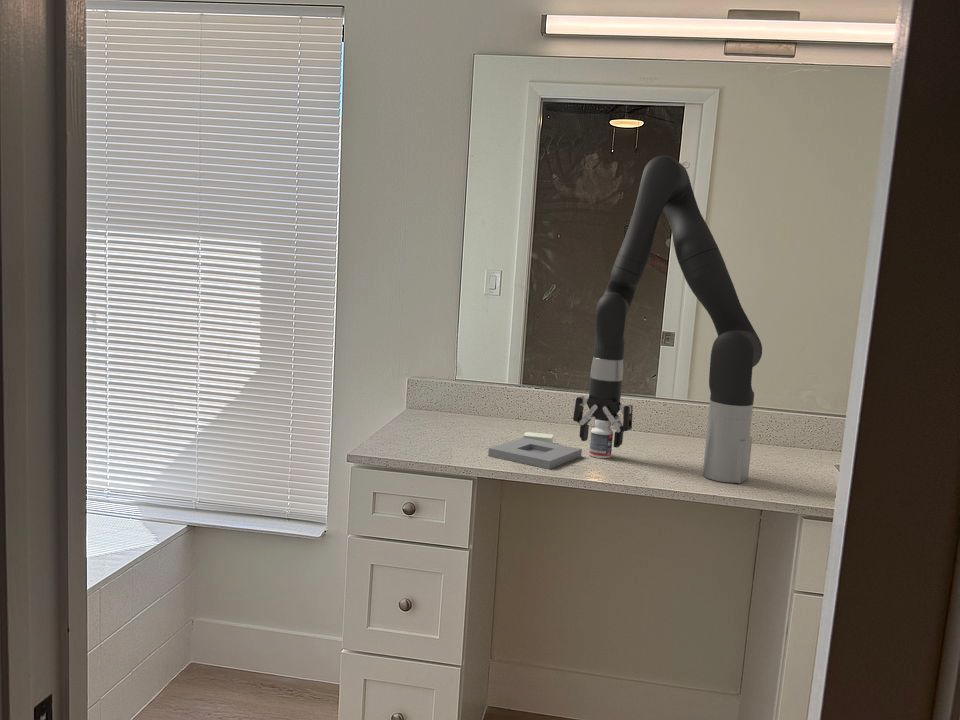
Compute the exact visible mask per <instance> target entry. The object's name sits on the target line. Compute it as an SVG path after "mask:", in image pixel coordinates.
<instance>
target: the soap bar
mask: <svg viewBox="0 0 960 720" xmlns="http://www.w3.org/2000/svg"><path fill="white" fill-rule="evenodd" d="M523 437H524V438H529V439H534V440H539V441H544V442H549V443H553V442H554V434H551V433H540V432H531V431H525V433H524V434H523Z"/></svg>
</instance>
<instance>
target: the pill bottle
mask: <svg viewBox="0 0 960 720" xmlns="http://www.w3.org/2000/svg"><path fill="white" fill-rule="evenodd" d="M593 424H594V427H592V428H591V431H590V440H589V441H590V442H589V452H588V454H589V456H590V457H592V458H597V459H609V458H611V457H612V451H613V450H612V447H613V440H614V431H613V429H611V427H612V424H611V423H610V421H609V420H603V419H601V418H600V419H597V418H594V423H593Z"/></svg>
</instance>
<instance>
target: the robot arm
mask: <svg viewBox="0 0 960 720" xmlns="http://www.w3.org/2000/svg"><path fill="white" fill-rule="evenodd" d="M662 212H663V213H664V215H665V217H666V219H667V221H668V223H669V227H670V230H671V235H672V243H673V247H674V252H675V257H676V260H677V262H678V265H679V267H680V270H681V272H682V275H683V277H684V279H685V281H686V284H687V285H688V287H689V289H690V291H691V292H692V293H693V295H694V296H695V297H696V299H697V300H698V301H699V303H700V304H701V305H702V307H703V308H704V309H705V310H706V312H707V314H708V315H709V317H710V319H711V322H712V323H713V325H714V328H715V331H716V334H717V337H716V338H715V339H714V342H713V343H712V347H711V352H710V359H709V360H710V361H709V376H708V377H709V378H708V386H709V391H710V397H709V405H708V406H709V409H708V416H707V425H706V426H707V428H706V435H705V436H706V438H705V448H704V457H703V464H702V476H703V477H704V478H707V479H709V480H713V481H717V482H723V483H734V484H735V483H736V484H742V483H744V482H745V481H747V480H748V479H749V473H750V464H751V453H752V444H753V436H751V429H752V420H753V410H754V409H753V408H754V401H755V392H754V390H753V388H752V379H753V368H755V366H757V365H758V364H759V362H760V360H761V358H762V356H763V346H762V345H763V344H762V341H761V339H760V338H759V336H758V334H757V332H756V330H755V328H754V327H753V325H752V323H751V321H750V319H749V317H748V315H747V314H746V312H745V310H744V309H743V308H744V307H743V306H742V304H741V301H740V299H739V296H738V294H737V291H736V288H735V286H734V283H733V280H732V278H731V276H730V272H729V270H728V268H727V266H726V263H725V259H724V258H723V255H722V253H721V251H720V248H719V246H718V244H717V242H716V240H715V238H714V236H713V234H712V232H711V230H710V228H709V226H708V223H707V222H706V220H705V219H704V217H703V215H702V213H701V211H700V209H699V205H698V203H697V199H696V197H695V194H694V190H693V187H692V183H691V180H690V176H689V173H688V170H687V169H686V167H685V166H684V165H683V164H682V163H681V162H679V161H678V160H677V159H675V158H673V157H671V156H669V155H659V156H655V157H653V158H652V159H650V160H649V161H648V163H647V164H646V165H645V166H644V168H643V172H642V175H641V179H640V182H639V188H638V192H637V198H636V201H635V205H634V208H633V212H632V215H631V218H630V222H629V224H628V226H627V227H628V228H627V230H626V233H625V236H624V239H623V241H622V244H621V246H620V248H619V251H618V253H617V255H616V259H615V261H614V263H613V266H612V269H611V271H610V277H609V278H610V279H609V281H608V283H607V285H606V288H605V290H604V292H603V295H602V296H601V297H600V298H599V300H598V301H597V303H596V309H595V340H594V344H593V345H594V346H593V348H594V349H593V358H592V361H591V362H592V363H591V367H590V372H589V374H590V377H589V386H588V387H589V389H588V398H586V397H585V396H578V397H576V399H575V404H574V409H573V411H574V412H573V418H572V419H573V421H574V422H577V423H578V424H579V426H580V427H579V438H580V440H581V441H582V442H586V441H588V438H589V427H590V425H589V423H590V422H591V421H592V420H593V419H596V418H597V419H600V418H601V419H603V420H609V421H610V423H611V426H613V428H614V430H615V432H614V435H613V448H620V446H621V445H622V444H623V440H624V432H627V431H630V430H632V428H633V411H634V409H633V408H634V407H633V404H627V405H626V404H621V403H622V402H621V396H622V387H623V377H624V355H625V354H624V353H625V336H624V335H625V326H626V320H627V315H628V313H629V311H630V308H631V306H632V302H633V299H634V296H635V294H636V290H637V287H638V285H639V283H640V281H641V280H642V277H643V275H644V273H645V270H646V267H647V265H648V262H649V259H650V256H651V253H652V250H653V246H654V240H655V236H656V231H657V227H658V224H659V221H660V217H661V215H662ZM586 405H587V408H588V411H587V412H586V413H585V414H584V409H585V406H586ZM619 411H621V414H622V415H623V418H622V419H623V420H622V419H621V417H620V415H619ZM583 415H584V416H583ZM622 421H623V422H622Z"/></svg>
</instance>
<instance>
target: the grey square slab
mask: <svg viewBox="0 0 960 720" xmlns="http://www.w3.org/2000/svg"><path fill="white" fill-rule="evenodd" d="M582 452H583V449H582V448H579V447H578V448H577V447H573V446H569V445H568V446H567V445H565V444H564V445H563V444H557V443H549V442H544V441H539V440H534V439H529V438H524V436H523V437H520V438H517V439H514V440H511V441H508V442H504V443H501V444H497V445H495V446H492V447H488V454H487V455H488V457H492V458H497V459H502V460H507V461H511V462H515V463H519V464H524V465H530V466H534V467H539V468H542V469H547V470H551V469H552V468H555V467H558V466H560V465H563V464H565V463H568V462H571V461H573V460H576V459H579V458H582Z"/></svg>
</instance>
